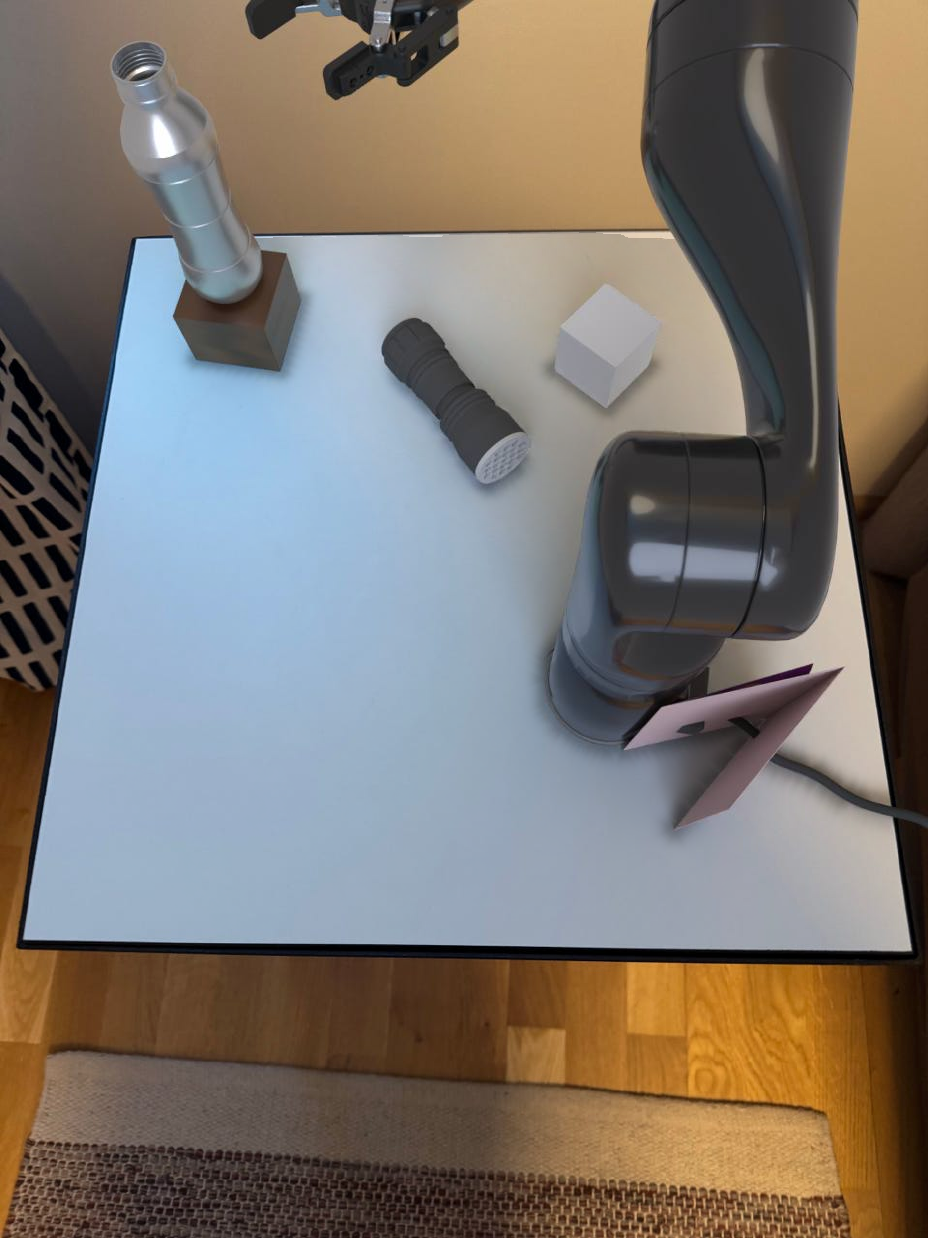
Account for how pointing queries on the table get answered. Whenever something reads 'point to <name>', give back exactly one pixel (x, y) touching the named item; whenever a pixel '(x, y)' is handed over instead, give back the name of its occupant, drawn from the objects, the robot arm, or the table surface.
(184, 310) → the block
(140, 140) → the silver metal bottle
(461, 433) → the flashlight
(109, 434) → the table surface
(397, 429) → the table surface
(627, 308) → the white cube
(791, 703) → the greeting card
